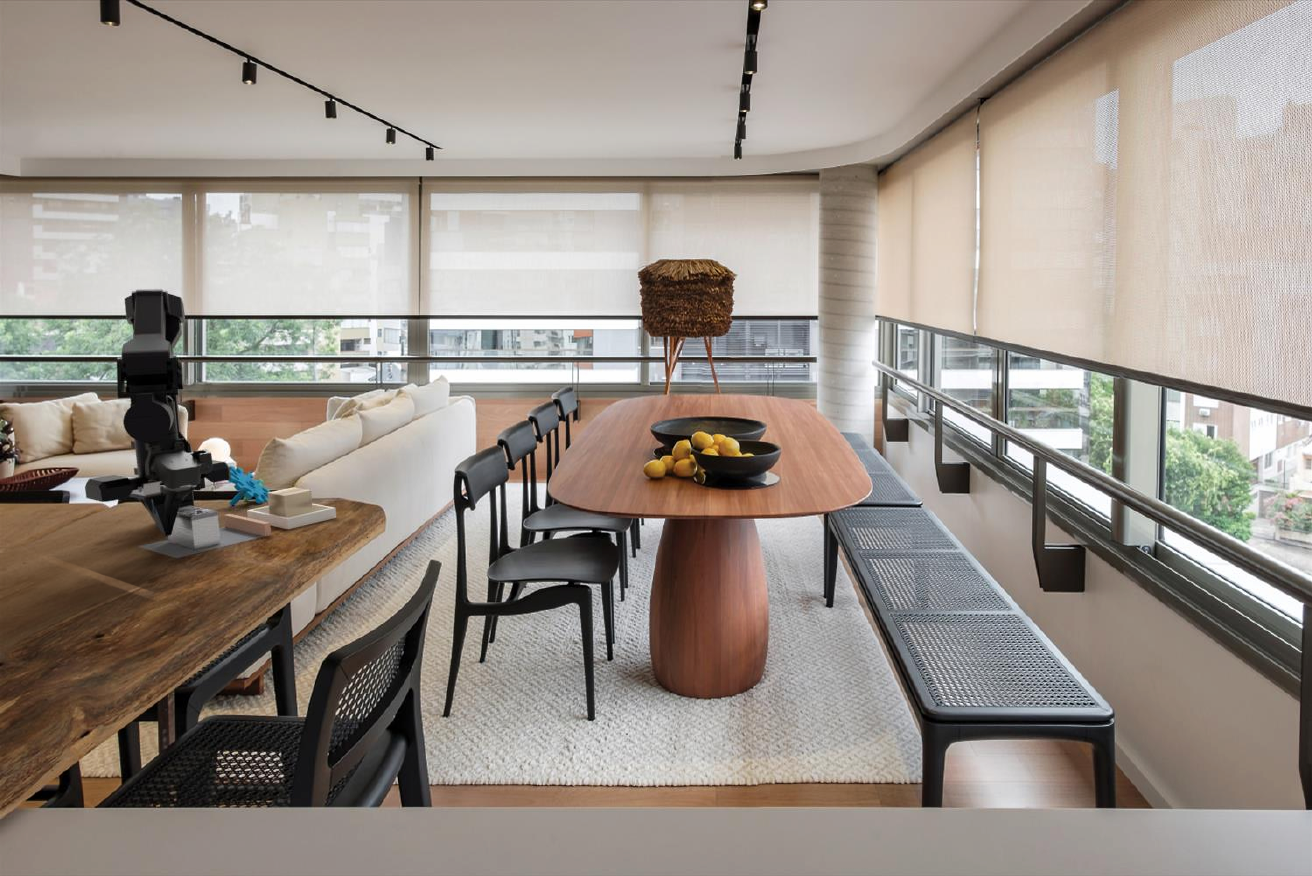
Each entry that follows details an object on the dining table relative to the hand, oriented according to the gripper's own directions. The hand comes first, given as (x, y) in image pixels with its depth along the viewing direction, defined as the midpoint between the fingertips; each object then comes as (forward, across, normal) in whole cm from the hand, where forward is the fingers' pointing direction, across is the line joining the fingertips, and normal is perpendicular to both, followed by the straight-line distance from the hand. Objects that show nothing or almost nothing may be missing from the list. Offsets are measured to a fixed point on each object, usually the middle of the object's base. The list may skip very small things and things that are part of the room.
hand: (167, 535), depth 134 cm
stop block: (+2, +21, +1) cm, 21 cm away
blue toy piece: (+3, +26, +22) cm, 34 cm away
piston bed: (+3, +6, 0) cm, 6 cm away
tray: (+3, +21, +1) cm, 21 cm away
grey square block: (+3, +4, 0) cm, 5 cm away
